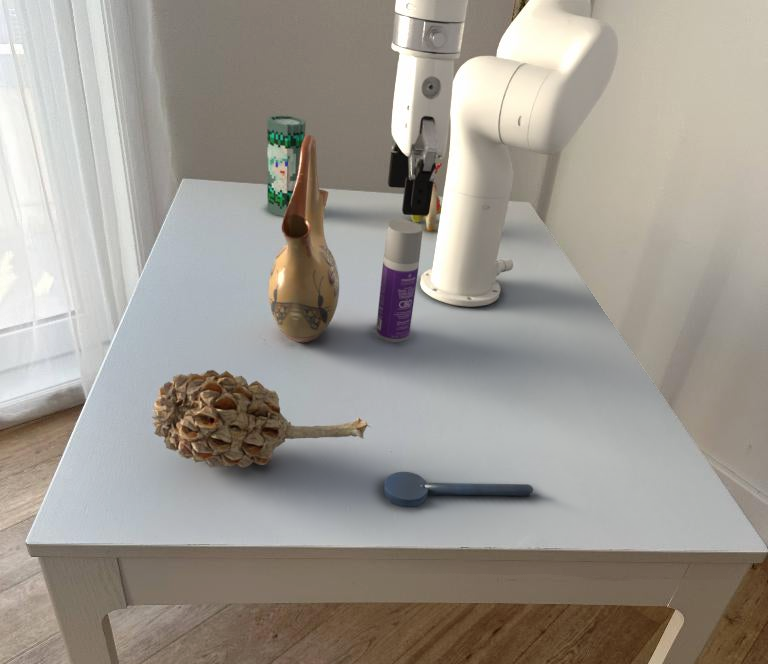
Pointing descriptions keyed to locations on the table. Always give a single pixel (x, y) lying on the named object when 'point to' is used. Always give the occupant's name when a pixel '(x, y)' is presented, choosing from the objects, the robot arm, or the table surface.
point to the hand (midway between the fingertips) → (407, 200)
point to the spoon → (441, 489)
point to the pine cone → (229, 420)
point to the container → (398, 280)
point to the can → (283, 159)
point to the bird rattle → (431, 208)
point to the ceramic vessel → (304, 259)
